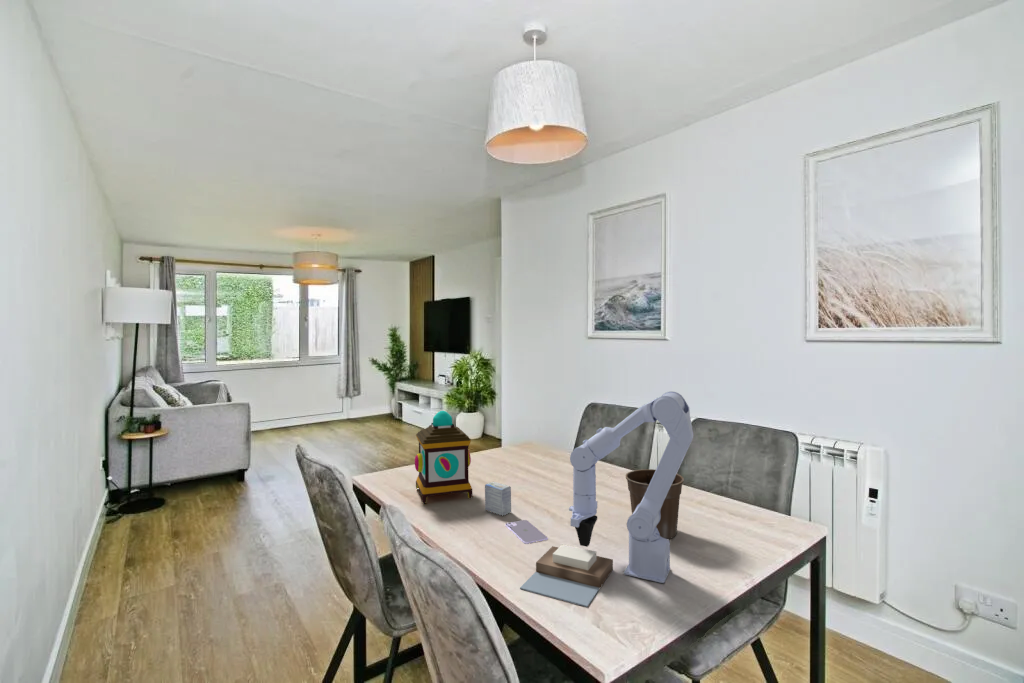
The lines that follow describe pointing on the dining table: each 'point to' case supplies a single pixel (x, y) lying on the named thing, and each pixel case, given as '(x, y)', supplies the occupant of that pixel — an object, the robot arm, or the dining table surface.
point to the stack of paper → (498, 498)
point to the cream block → (574, 557)
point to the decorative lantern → (442, 458)
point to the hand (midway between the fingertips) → (584, 545)
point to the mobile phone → (526, 531)
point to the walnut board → (575, 569)
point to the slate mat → (560, 589)
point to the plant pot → (670, 507)
